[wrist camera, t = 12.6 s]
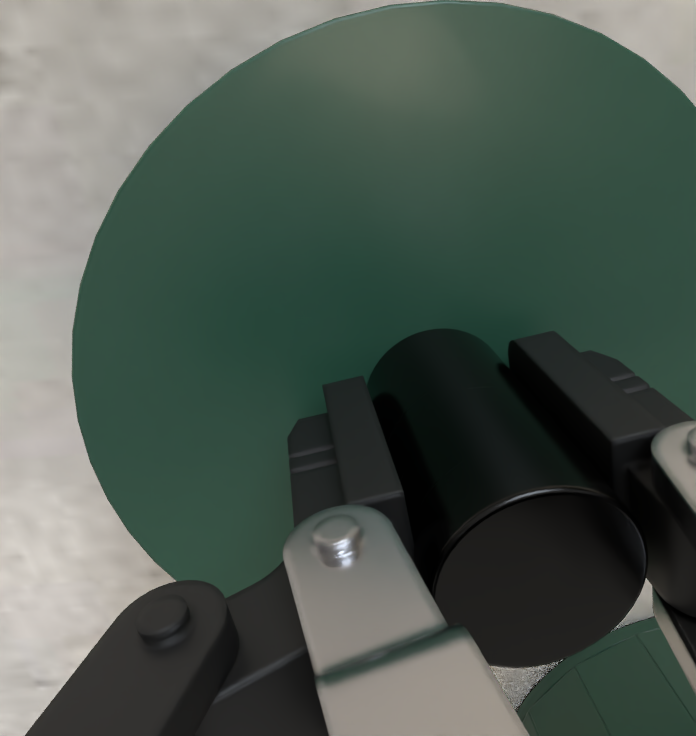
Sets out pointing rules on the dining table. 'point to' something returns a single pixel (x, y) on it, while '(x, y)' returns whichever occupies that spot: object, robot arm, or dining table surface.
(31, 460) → the dining table surface
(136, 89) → the dining table surface
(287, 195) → the lid
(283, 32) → the dining table surface
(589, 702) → the pot
